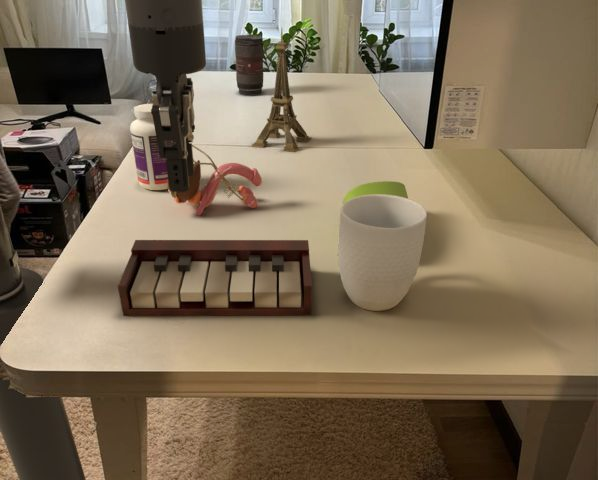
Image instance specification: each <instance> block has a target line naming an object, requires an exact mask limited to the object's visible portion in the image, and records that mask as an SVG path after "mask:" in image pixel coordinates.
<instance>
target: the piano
mask: <svg viewBox="0 0 598 480" xmlns="http://www.w3.org/2000/svg"><path fill="white" fill-rule="evenodd" d="M130 253H131V254H130V256H129V259H128V261H127V263H126V266H125V268H124V271H123V272H122V275H121V277H120V280H119V282H118V284H117V290H118V291H117V292H118V296H119V301H120V306H121V311H122V316H123V317H129V316H130V317H131V316H132V317H136V316H137V317H138V316H139V317H143V316H145V317H146V316H147V317H148V316H149V317H150V316H152V317H153V316H155V317H156V316H157V317H158V316H161V317H162V316H163V317H164V316H165V317H166V316H169V317H170V316H175V317H177V316H311V315H312V304H313V303H312V302H313V282H312V281H313V280H312V272H311V271H312V270H311V259H310V245H309V240H308V239H135V240H134V242H133V245H132V247H131V249H130ZM192 261H208V262H209V274H208V279H207V284H206V289H205V295H204V300H203V301H181V297H180V291H181V287H182V283H183V279H184V275H185V271H190V269H191V265H192ZM238 261H249V265H248V266H249V271H254V284H253V299H252V301H230V286H231V278H232V271H237V266H238Z"/></svg>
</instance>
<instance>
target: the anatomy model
mask: <svg viewBox="0 0 598 480" xmlns="http://www.w3.org/2000/svg"><path fill="white" fill-rule="evenodd" d="M192 148H194V149H196V150H197V151H198V152H200V153H202V154H203V155H205V157H207V158H208V159H209V161H210V162H201V161H200V160H199V159H198V160H197V161H196V160H195V159H194V158H193V162H194V173H193V175H192V176H188V177H189V189H188V191H186V192H173V191H171V190H170V189H169V182H168V179H167V188H168V189H167V190H168V193H169V195H171V197H172V198H173V201H174V202H175V203H176V204H179V205H180V204H181V205H182V204H184V203H186V202H187V203H188V204H190V205H191V206H194V205H197V204H199V205H198V208H197V211H196V216H201V215H202V214H203V212H204V210H205V208H207V207H209V206H210V205H211V204H212V203H213V202H214V200H215V197H216V195H217V193H218V189H219V187H220V184H221V182H223V184H224V185H225V186H226V187H227V189H224V190H223V193H225V194H226V195H227V198H229V199H230V197H231V196H232V195H235V196H236V197H237V198H239V200H240V201H242V203H243V205H245V206H247V207H249V208H250V209H255V208H257V207H258V205H259V201H258V199H257V198H256V196H255V194H254V192H253V190H252V189H251V188H250V187H249V186H245V185H240V186H238V185H237V186H236V187H235V185H236V184H235V183H232V184H231V183H230V182H229V181H228V180H227V179H226V178H225V177H227V176H228V175H237V176H240V177H242V178H245V179H246V180H247V181H249V182H250V183H251V184H252V185H253V186H254V187H261V185H262V183H263V178H262V176H261V174H260V172H259V171H258V169H257V168H256V167H253V168H250V167H249V166H247V165H245V164H241V163H238V162H228V163H223V164H222V165H219V166H218V167H217V165H216V164H215V162H214V161H213V159H212V158H211V157H210V155H208V154H207V153H206V152H205V151H203V150H202V149H200V148H199V147H197V146H196V145H193V144H192ZM201 165H204V166H205V165H206V166H208V165H209V166H211V167H212V168H213V169H214V171H213V172H212V174H211V175H210V177H209V179H208V180H207V182H206V183H205V185H204V186H203V188H202V189H200V188H199V187H200V185H201V178H202V167H201ZM227 192H229V194H228V193H227ZM236 192H237V193H236Z"/></svg>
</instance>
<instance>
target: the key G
mask: <svg viewBox="0 0 598 480" xmlns="http://www.w3.org/2000/svg"><path fill="white" fill-rule="evenodd" d="M248 265H249V261H238V266H237V271H232V278H231V286H230V301H252V299H253V284H254V271H249V266H248Z"/></svg>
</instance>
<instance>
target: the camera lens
mask: <svg viewBox="0 0 598 480" xmlns="http://www.w3.org/2000/svg"><path fill="white" fill-rule="evenodd" d="M264 52H265V51H264V37H263V36H260V35H255V34H253V35H252V34H239V35H236V36H235V40H234V55H235V71H236V72H235V74H236V75H235V77H236V79H235V80H236V87H237V88H238V94H239V95H242V96H258V95H261V94H262V92H263V91H262V90H263V86H264V56H265V55H264Z"/></svg>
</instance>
